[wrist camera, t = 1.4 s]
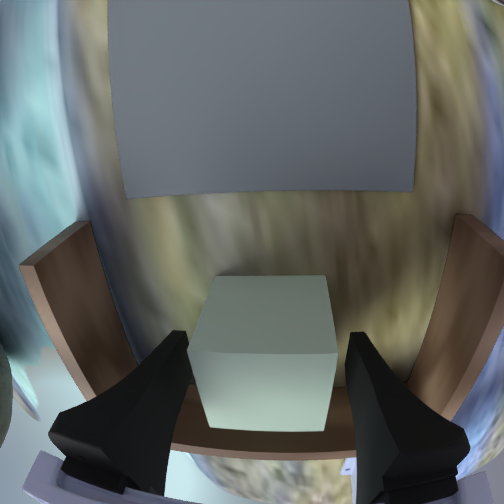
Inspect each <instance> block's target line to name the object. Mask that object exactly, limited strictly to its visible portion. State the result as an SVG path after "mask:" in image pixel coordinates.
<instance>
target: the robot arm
mask: <svg viewBox="0 0 504 504" xmlns="http://www.w3.org/2000/svg"><path fill="white" fill-rule="evenodd" d="M188 346H189V342H188V338H187V334H186V331H177V330H173V331H172V332H171V333H170V334H169V335H168V336H167V337H166V338H165V339H164V340H163V341H162V342H161V343H160V344H159V345H158V347H157V348H156V349H155V350H154V351H153V352H152V353H151V354H150V355H149V356H148V357H147V358H146V359H145V360H144V361H143V362H142V363H141V364H139V365H138V366H137V367H136V368H135V369H134V370H133V371H132V372H131V373H129V374H128V375H127V376H126V377H125V378H123V379H122V380H121V381H119V382H118V383H117V384H115V385H114V386H112V387H111V388H109V389H108V390H106V391H104V392H103V393H101V394H100V395H98V396H96V397H94V398H92V399H91V400H89V401H87V402H84V403H83V404H81V405H78V406H76V407H73V408H71V409H68V410H65V411H63V412H60V413H59V414H58V416H57V418H56V420H55V421H54V423H53V425H52V427H51V429H50V431H49V432H48V436H49V438H50V440H51V441H52V442H53V444H54V445H55V446H56V447H57V448H58V449H59V450H60V451H61V452H62V453H63V454H64V455H65V456H66V458H65V460H64V461H63V460H61V459H59V458H58V457H56V456H53V455H51V454H49V453H46V452H44V451H40V452H39V454H38V456H37V458H36V460H35V462H34V464H33V466H32V468H31V470H30V472H29V474H28V476H27V478H26V481H25V483H24V485H23V487H22V490H23V491H24V492H26V493H27V494H29V495H30V496H32V497H33V498H34V499H36V500H37V501H39V502H41V503H42V504H201V503H194V502H188V501H183V500H177V499H173V498H168V497H164V492H165V482H166V472H167V466H168V459H169V453H170V448H171V443H172V438H173V433H174V428H175V425H176V421H177V418H178V415H179V412H180V409H181V407H182V404H183V401H184V398H185V395H186V392H187V389H188V386H189V383H190V379H191V375H192V367H191V364H190V360H189V356H188V353H187V349H188ZM345 376H346V386H347V391H348V396H349V401H350V406H351V411H352V416H353V422H354V428H355V437H356V457H355V458H346V459H345V461H344V463H343V466H342V468H341V470H340V474H341V475H351V482H352V499H353V504H494V502H493V498H492V494H491V490H490V486H489V482H488V479H487V475H486V472H485V471H482V472H479V473H476V474H474V475H471V476H468V477H465V478H462V479H460V480H458V481H456V477H455V476H456V475H457V474H458V470H457V465H458V464H459V463H460V462H461V461H462V460H463V459H464V458H465V457H466V456H467V454H468V453H469V451H470V444H469V441H468V438H467V435H466V433H465V431H464V429H463V428H461V427H460V426H458V425H456V424H454V423H452V422H451V421H452V420H451V421H449V420H447V419H445V418H444V417H442V416H441V415H439V414H438V413H436V412H435V411H434V410H432V409H431V408H430V407H429V406H427V405H426V404H425V403H424V402H422V401H421V400H420V399H419V398H418V397H417V396H415V395H414V394H413V393H412V392H411V391H410V390H409V389H408V388H407V387H406V386H405V385H404V384H403V383H402V381H401V380H400V379H399V378H398V377H397V376H396V375H395V373H394V372H393V371H392V370H391V369H390V367H389V366H388V365H387V363H386V362H385V361H384V359H383V358H382V357H381V355H380V354H379V352H378V351H377V350H376V348H375V347H374V345H373V344H372V342H371V341H370V339H369V338H368V336H367V334H366V333H365V332H350V338H349V344H348V349H347V355H346V360H345ZM454 416H455V415H454ZM453 418H454V417H453ZM453 418H452V419H453Z"/></svg>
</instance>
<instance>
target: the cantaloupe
mask: <svg viewBox="0 0 504 504" xmlns="http://www.w3.org/2000/svg"><path fill="white" fill-rule="evenodd" d="M12 399H13V388H12V374H11V368H10V364H9V361H8V358H7V355H6V353H5V350H4V348H3V346H2V344H1V342H0V448H1V445H2V444H3V442H4V439H5V436H6V434H7V431H8V429H9V425H10V421H11V415H12Z"/></svg>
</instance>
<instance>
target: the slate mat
mask: <svg viewBox="0 0 504 504" xmlns="http://www.w3.org/2000/svg"><path fill="white" fill-rule="evenodd" d="M108 50H109V69H110V82H111V94H112V105H113V114H114V123H115V131H116V139H117V146H118V153H119V160H120V166H121V172H122V178H123V184H124V190H125V195H126V199H133V198H145V197H157V196H171V195H187V194H204V193H225V192H251V191H294V190H352V191H395V192H413V182H414V169H415V152H416V114H417V108H416V71H415V55H414V42H413V32H412V23H411V15H410V8H409V1H408V0H108Z"/></svg>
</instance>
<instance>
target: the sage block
mask: <svg viewBox="0 0 504 504" xmlns="http://www.w3.org/2000/svg"><path fill="white" fill-rule="evenodd" d="M187 353H188V356H189V360H190V364H191V367H192V371H193V374H194V378H195V381H196V385H197V388H198V391H199V395H200V398H201V401H202V404H203V408H204V411H205V414H206V417H207V420H208V423H209V426H210V427H213V428H224V429H236V430H253V431H288V432H298V431H324V427H325V423H326V418H327V413H328V408H329V403H330V398H331V393H332V388H333V382H334V377H335V371H336V365H337V359H338V347H337V340H336V334H335V327H334V321H333V315H332V309H331V303H330V298H329V292H328V286H327V281H326V276H325V275H299V276H215V278H214V280H213V283H212V285H211V288H210V291H209V293H208V296H207V298H206V301H205V304H204V306H203V309H202V311H201V314H200V317H199V319H198V322H197V325H196V327H195V330H194V332H193V335H192V338H191V340H190V343H189V346H188V349H187Z"/></svg>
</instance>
